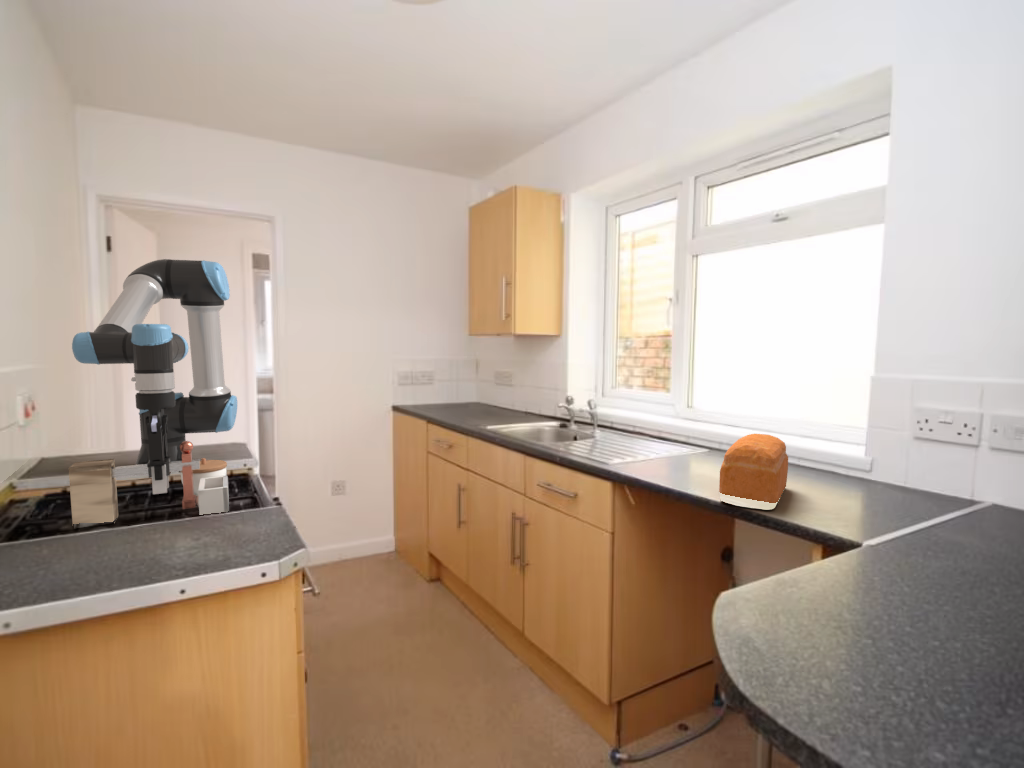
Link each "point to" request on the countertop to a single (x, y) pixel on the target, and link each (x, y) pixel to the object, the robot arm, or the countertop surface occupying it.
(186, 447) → the post with horizontal bar
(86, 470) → the paper bag
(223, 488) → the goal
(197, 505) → the white egg
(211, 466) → the lidded jar
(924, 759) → the countertop surface
